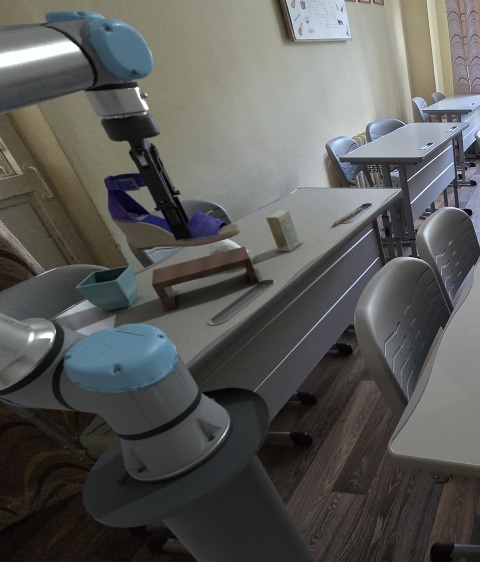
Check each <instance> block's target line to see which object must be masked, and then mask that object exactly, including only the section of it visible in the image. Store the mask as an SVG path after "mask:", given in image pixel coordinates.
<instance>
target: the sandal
mask: <svg viewBox="0 0 480 562" xmlns="http://www.w3.org/2000/svg"><path fill="white" fill-rule="evenodd" d="M103 182H104V185H105V187H106V190H107V210H108V213H109V215H110V217H111V220H112V221H113V223H114V224H115V225H116V226H117V228H118V229H119V230H120V231H121V232H122V233H123V235H124V236H125V237H126V238H127V239H128V240H129V241H130V243H131V244H132V245H133V246H134V248H135V249H136V251H150V250H153V249H155V248H168V247H170V248H171V247H178V248H179V247H180V248H181V247H198V246H205V245H210V243H214V242H218V241H221V240H225V239H228V240H229V239H230V238H233V237H235V236H237V235H239V234H240V233H241V228H240V226H239V225H237V224H236V223H235V224H234V223H232V224H231V223H227V221H223V220H221V219H217V218H215V217H214V216H211V215H208V214H207V213H204V212H202V211H201V210H199V209H196V211H195V212H194V214H193V215H192V216H191V218H190V219H189V222H188V223H187V224H186V225H187V227H188V229H189V231H190V233H191V235H192V237H189V238H185V239H181V240H177V241H176V239H175V237H174V235H173V233H172V232H171V230H170V228H169V226H168V224H167V222H166V220H165V218H164V217H163V216H158V215H155V214H151V212H149V210H147V209H146V208H145V207H144V206H143V205H142V204H141V203H139V202H138V201H137V200H136V199H135V198H133V197H132V196H131V195H130V194H129V193H128V192H135V191H136V192H137V191H140V189H141V188H144V187H147V186H146V184H145V182H144V180H143V178H142V176H141V174H140V172H130V173H121V174H116V175H112V174H111V175H108V176H106V177H104V179H103Z"/></svg>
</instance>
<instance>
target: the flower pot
mask: <svg viewBox="0 0 480 562" xmlns="http://www.w3.org/2000/svg"><path fill="white" fill-rule="evenodd" d="M75 289H76V290H77V291H78V292H79V293H80V294H81V295H82V296H83V297H84V298H85V300H87V301H88V302H89V303H90V304H92V305H94V306H95V307H97V308H99V309H102V310H104V311H109V312H110V311H114V310H119V309H124V308H128V307H130V306H131V305H132V304H133V303H134V301H136V299H137V298H138V294H139V284H138V280H137V278H136V275H135V273H134V270H133V268H132V265H125V266H119V267H114V268H109V269H108V268H107V269H102V270H97V271H92V272H91V273H90V274H88V276H86V277H85V278H84V279H83V280H82V281H81V282H80V283H79V284H77V285H76V286H75Z"/></svg>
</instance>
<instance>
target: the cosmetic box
mask: <svg viewBox="0 0 480 562" xmlns="http://www.w3.org/2000/svg"><path fill="white" fill-rule="evenodd" d="M265 219H266V222H267V224H268V227H269V229H270V233H271V234H272V237H273V240H274V242H275V244H276V247H277V250H278V252H291V251H293V250H294V249H295V248H296V247H298V246H299V245H300V244H301V242H300V239H299V236H298V233H297V230H296V227H295V225H294V222H293V218H292V215H291V212H290V210H281V209H280V210H276V211H274V212H272V213H271V214H269V215H268V216H266V217H265Z"/></svg>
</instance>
